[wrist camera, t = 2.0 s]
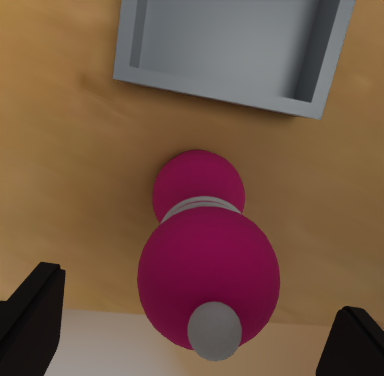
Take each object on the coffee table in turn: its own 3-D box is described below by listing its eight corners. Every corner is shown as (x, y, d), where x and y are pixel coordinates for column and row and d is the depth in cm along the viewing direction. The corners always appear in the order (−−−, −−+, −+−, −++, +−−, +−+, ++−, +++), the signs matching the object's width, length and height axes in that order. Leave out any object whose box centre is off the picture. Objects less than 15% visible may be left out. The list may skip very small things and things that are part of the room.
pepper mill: (162, 138, 27) (102, 225, 8) (241, 149, 28) (367, 256, 8) (153, 214, 29) (90, 430, 10) (228, 223, 30) (306, 449, 10)
